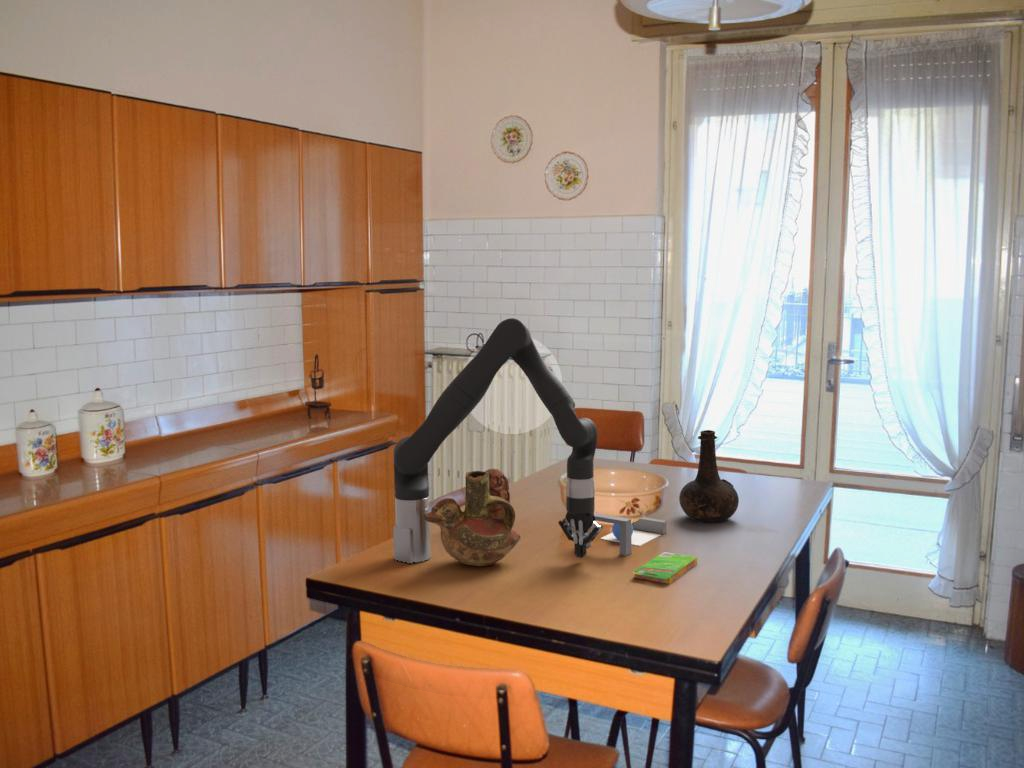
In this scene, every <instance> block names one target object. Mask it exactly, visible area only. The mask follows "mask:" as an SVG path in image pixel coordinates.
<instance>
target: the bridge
mask: <svg viewBox="0 0 1024 768" xmlns="http://www.w3.org/2000/svg"><path fill="white" fill-rule="evenodd" d="M594 517H595V522H602V523H609V524H612V525H614V524H619V525H620V542H619V556H624V557H627V556H628V555H631V554H632V545H631V519H629V518H624V517H622V516H616V515H609V514H604V513H598V512H594ZM591 529H592V527H591V528H590V529H589V534H590V533H591V532H592V530H591ZM589 534H588V535H589ZM591 543H592V542H589V543H587V544H586V549H587V548H589V547H590V546H592V544H591Z"/></svg>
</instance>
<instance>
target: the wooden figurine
mask: <svg viewBox="0 0 1024 768" xmlns="http://www.w3.org/2000/svg"><path fill="white" fill-rule="evenodd" d="M484 472H488V473H489V494H490V496H496V497H500V498H503V499H505V500H506V501H508V502H509V503H510V504H511V493H510V486H509V479H508V478H507V476H505V474H504V472H503V471H501V470H500V469H497V468H489V469H487V470H485V471H484ZM490 513H491V515H493V516H494V517H497V518H503V517H504V516H505V510H504V508H503V507H502V506H501V505H499V504H493V505H491V507H490Z"/></svg>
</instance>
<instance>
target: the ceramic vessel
mask: <svg viewBox="0 0 1024 768" xmlns="http://www.w3.org/2000/svg"><path fill="white" fill-rule="evenodd" d="M464 478H465V503H464V504H465V505H464V510H462V508H461V506H460V505H459V504H458V502H457V501H456V500H455V499H454V498H453V497H452V498H451V497H446V498H442V499H440V500H439V501H437V502H436V504H435V505H434V506H432V507H431V510H430V511H429V513H427V514H425V515H424V517H425V520H426V521H427V522H430V523H431V524H434V525H437V526H439V527H440V541H441V543H442V546H443V548H444V550H445V552H446V553H447V554H448V555H449V556H451V557H452V558H453V559H454V560H455V561H456V562H457V561H458V562H459V563H461V564H464V565H468V566H474V567H486V566H490V565H493V564H496V563H497V562H499V561H501V560H503V559H504V557H506V556H507V555H508V554H509V553H510V552H511V551H512V550H513V549H514V548H515V547H516V545H517V544H518V543H519V541H520V539H521V534H519V533H518V532H516V531H515V530H513V527H514V524H515V521H516V511H515V509H514V507H513V505H512V504H511V502H510V503H509V502H508V501H506V500H505V499H503V498H500V497H496V496H490V494H489V473H488V472H485V471H481V470H472V471H467V472H466V474H465V477H464ZM493 504H499V505H501V506H502V507H503V508H504V510H505V516H504V517H503V518H497V517H494V516H493V515H491V513H490V507H491V505H493Z"/></svg>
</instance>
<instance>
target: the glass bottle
mask: <svg viewBox="0 0 1024 768" xmlns="http://www.w3.org/2000/svg"><path fill="white" fill-rule="evenodd" d="M717 438H718V436H716V431H714V430H710V429H706V430H705V429H704V430H701V431H700V435H699V436H698V437H697V440H700V444H699V445H700V447H699V448H700V449H699V461H698V469H697V474H696V477H695V478H694V480H691V481H688V482H687V483H686V484H685V485H684V486H683V487H682V488H681V491H680V493H679V499H678V500H679V505H680V507H681V510H682V511H683V512H684V513H685V515H686V516H687V517H689V518H690V519H691V520H693V521H696V522H699V523H700V522H701V523H704V524H706V523H707V524H715V523H722V522H725V521H727V520H728V519H730V518H731V517H733V515H735V513H736V511H737V510H738V506H739V494H738V492H737V490H736V489H735V487H734V485H733V484H732V483H731V482H729V481H728V480H726V479H724V478H722V479H721V477H720V474H719V471H718V466H717V465H718V464H717V455H716V439H717Z"/></svg>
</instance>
